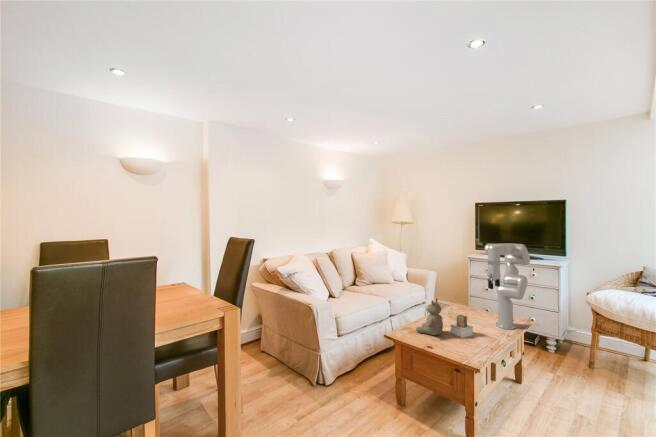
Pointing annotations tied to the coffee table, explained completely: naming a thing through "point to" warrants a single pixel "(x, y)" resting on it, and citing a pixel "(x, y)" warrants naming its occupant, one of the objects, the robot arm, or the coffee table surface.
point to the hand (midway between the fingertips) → (494, 287)
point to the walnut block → (461, 321)
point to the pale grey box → (461, 330)
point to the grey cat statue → (432, 320)
